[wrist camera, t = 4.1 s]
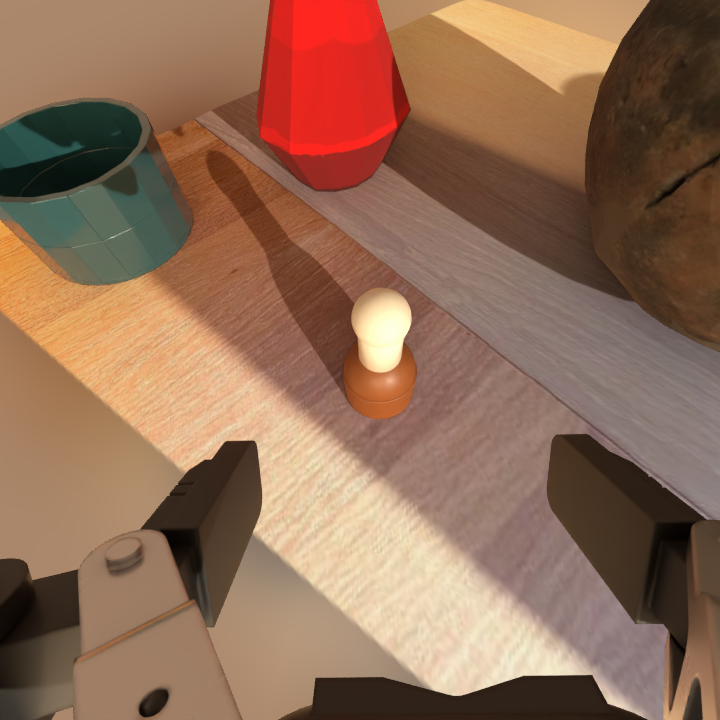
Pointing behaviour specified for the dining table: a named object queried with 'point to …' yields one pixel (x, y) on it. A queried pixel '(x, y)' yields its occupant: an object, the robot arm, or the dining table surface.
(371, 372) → the drumstick
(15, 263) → the dining table surface
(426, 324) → the dining table surface
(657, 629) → the dining table surface
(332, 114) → the bottle
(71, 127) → the bowl
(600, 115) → the pot
